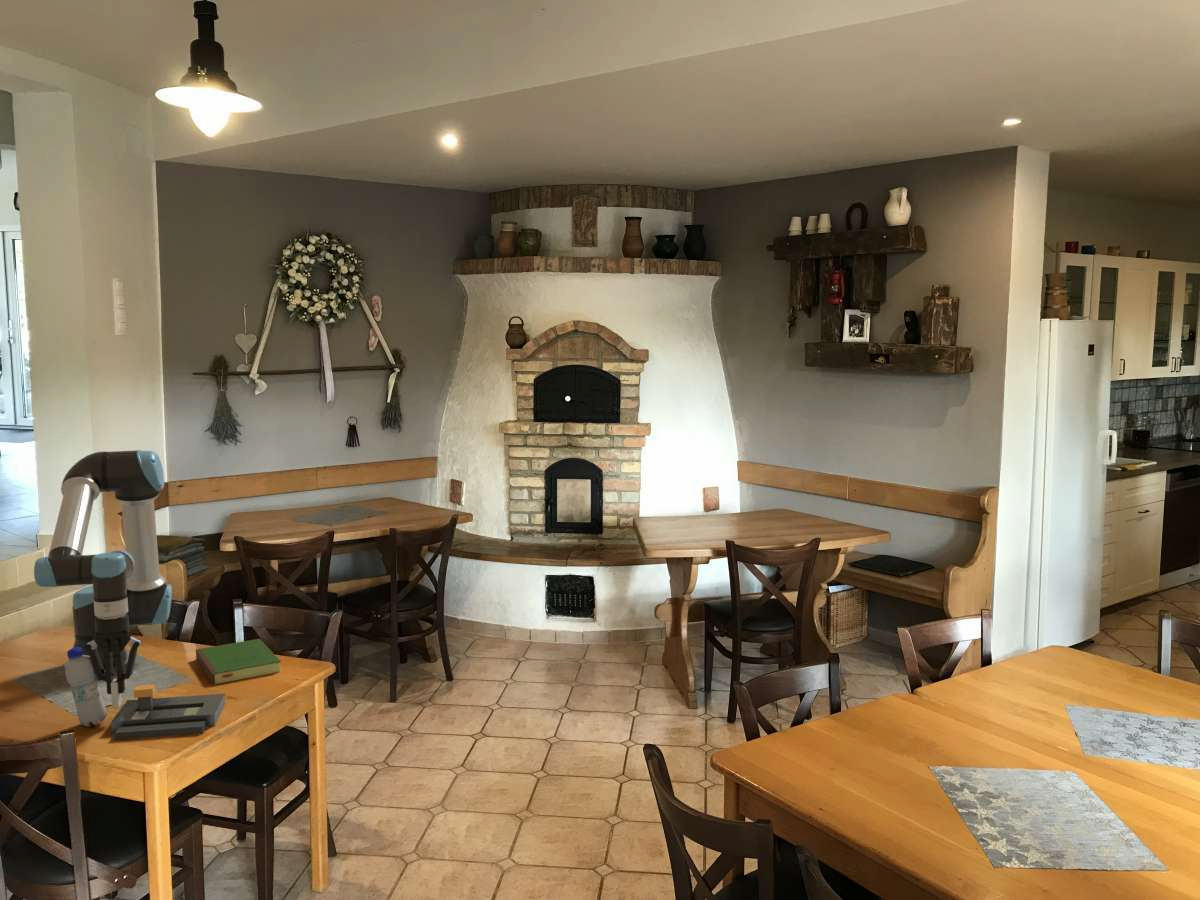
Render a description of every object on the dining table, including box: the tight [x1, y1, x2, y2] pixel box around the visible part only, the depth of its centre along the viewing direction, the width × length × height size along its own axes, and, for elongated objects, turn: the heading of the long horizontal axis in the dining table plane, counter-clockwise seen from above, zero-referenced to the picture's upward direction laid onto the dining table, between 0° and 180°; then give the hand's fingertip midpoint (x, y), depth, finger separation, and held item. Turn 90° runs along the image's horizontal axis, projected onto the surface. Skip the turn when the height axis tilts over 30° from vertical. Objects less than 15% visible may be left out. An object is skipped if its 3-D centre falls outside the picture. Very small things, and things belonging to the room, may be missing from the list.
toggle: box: [133, 684, 157, 711], centre depth 239 cm, size 3×4×7 cm
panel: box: [110, 693, 226, 734], centre depth 241 cm, size 14×24×3 cm, turn 102°
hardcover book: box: [195, 638, 282, 685], centre depth 279 cm, size 25×19×4 cm
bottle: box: [63, 647, 108, 728], centre depth 235 cm, size 7×7×20 cm
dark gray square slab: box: [114, 721, 207, 741], centre depth 240 cm, size 21×20×2 cm
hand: (116, 705), depth 238 cm, fingers closed
